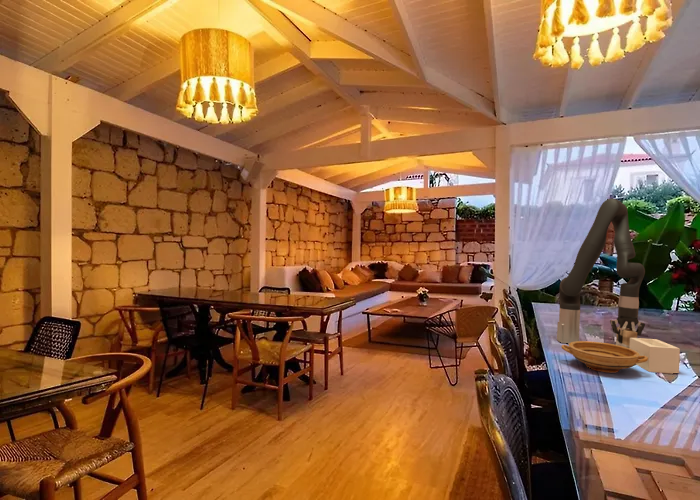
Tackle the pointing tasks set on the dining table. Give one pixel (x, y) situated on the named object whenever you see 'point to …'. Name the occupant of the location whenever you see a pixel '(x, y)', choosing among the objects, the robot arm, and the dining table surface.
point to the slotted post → (656, 355)
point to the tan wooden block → (626, 337)
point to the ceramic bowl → (604, 355)
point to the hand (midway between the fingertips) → (626, 343)
